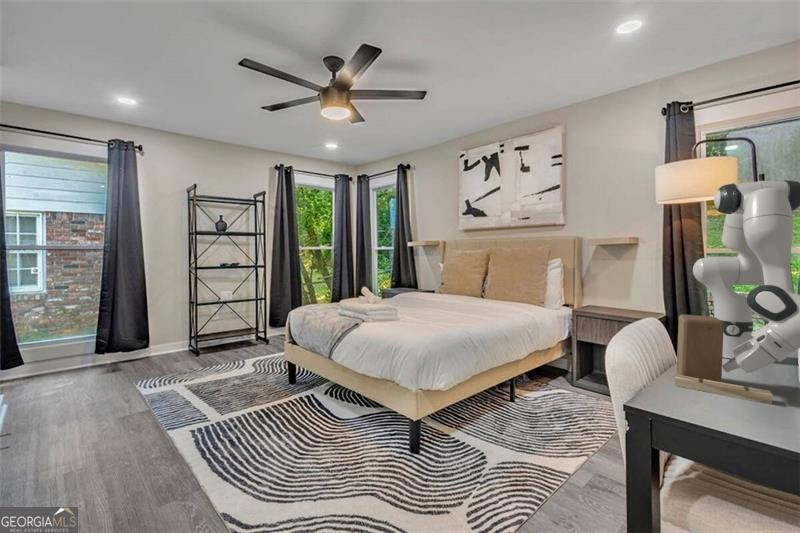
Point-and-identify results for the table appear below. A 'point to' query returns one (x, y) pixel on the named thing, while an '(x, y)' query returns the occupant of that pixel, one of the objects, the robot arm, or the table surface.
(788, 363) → the table surface
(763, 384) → the table surface
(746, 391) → the maple board
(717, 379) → the wooden block
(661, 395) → the table surface
